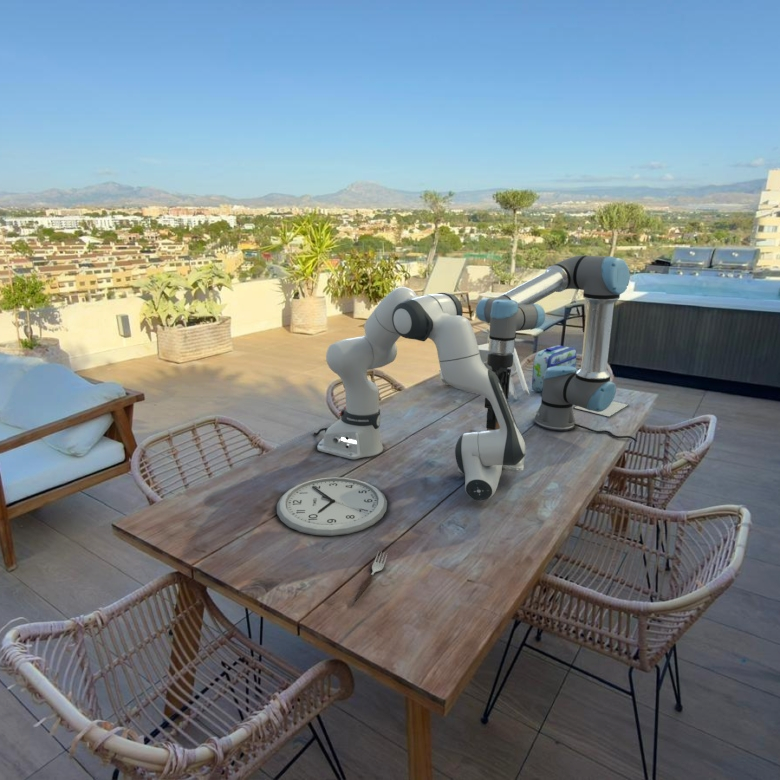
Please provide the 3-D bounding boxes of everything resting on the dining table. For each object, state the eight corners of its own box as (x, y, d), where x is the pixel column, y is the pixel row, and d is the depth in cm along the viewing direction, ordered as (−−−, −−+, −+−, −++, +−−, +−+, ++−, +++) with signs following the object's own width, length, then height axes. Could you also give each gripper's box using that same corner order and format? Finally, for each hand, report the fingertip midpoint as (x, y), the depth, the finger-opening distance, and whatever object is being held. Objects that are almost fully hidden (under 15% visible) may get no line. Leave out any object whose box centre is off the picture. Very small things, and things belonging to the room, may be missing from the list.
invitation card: (608, 416, 214) (573, 407, 224) (608, 416, 214) (573, 408, 224) (628, 404, 229) (594, 396, 238) (628, 405, 229) (594, 397, 238)
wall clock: (392, 527, 129) (268, 531, 127) (391, 533, 130) (269, 537, 127) (383, 473, 158) (282, 475, 155) (383, 478, 158) (282, 480, 156)
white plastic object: (461, 429, 252) (437, 405, 227) (444, 352, 274) (420, 323, 250) (535, 404, 240) (518, 377, 215) (510, 326, 262) (492, 293, 237)
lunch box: (548, 398, 236) (553, 353, 229) (527, 393, 243) (531, 349, 237) (575, 387, 253) (581, 344, 247) (555, 382, 260) (560, 341, 254)
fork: (349, 601, 106) (348, 593, 105) (377, 557, 120) (377, 550, 120) (360, 605, 105) (360, 596, 105) (388, 560, 119) (388, 552, 119)
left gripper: (524, 461, 149) (527, 443, 162) (453, 451, 155) (462, 434, 167) (522, 481, 151) (525, 462, 163) (452, 470, 157) (460, 453, 169)
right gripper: (500, 345, 165) (495, 415, 172) (475, 356, 150) (470, 431, 157) (523, 349, 161) (517, 419, 168) (500, 360, 146) (494, 437, 153)
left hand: (493, 448), depth 165 cm, fingers closed on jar, 4 cm apart
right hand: (494, 425), depth 162 cm, fingers closed on lid, 5 cm apart
